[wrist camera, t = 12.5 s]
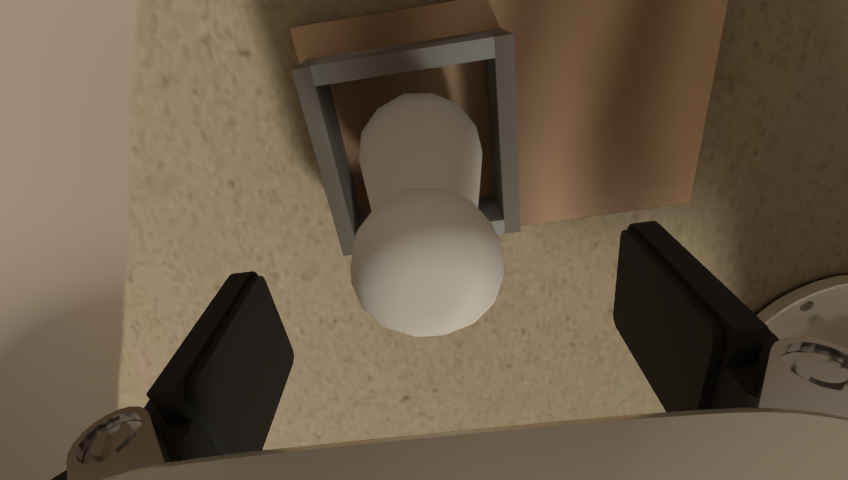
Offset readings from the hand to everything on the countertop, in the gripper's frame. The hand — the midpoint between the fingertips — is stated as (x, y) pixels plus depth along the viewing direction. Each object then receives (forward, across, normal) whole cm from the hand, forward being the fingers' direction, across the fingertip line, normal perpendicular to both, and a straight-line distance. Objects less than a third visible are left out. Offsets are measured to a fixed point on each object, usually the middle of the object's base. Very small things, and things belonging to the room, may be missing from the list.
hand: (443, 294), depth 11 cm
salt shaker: (+13, +1, 0) cm, 13 cm away
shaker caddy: (+14, -4, -1) cm, 15 cm away
